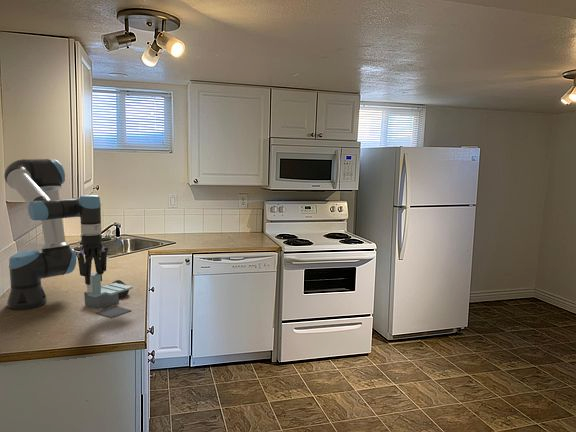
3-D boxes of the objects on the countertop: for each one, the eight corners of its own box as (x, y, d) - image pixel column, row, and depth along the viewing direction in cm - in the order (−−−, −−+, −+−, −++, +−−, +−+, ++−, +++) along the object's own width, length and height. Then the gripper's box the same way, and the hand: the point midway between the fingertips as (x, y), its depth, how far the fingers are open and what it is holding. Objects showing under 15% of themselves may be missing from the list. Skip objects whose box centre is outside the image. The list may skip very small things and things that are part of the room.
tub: (84, 304, 199) (84, 292, 198) (104, 298, 207) (103, 286, 206) (99, 309, 194) (98, 296, 193) (118, 302, 202) (118, 290, 202)
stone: (132, 302, 214) (130, 284, 220) (128, 294, 207) (127, 276, 213) (110, 306, 212) (110, 288, 218) (106, 298, 205) (105, 280, 211)
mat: (95, 313, 189) (95, 312, 189) (115, 306, 197) (115, 305, 197) (111, 318, 184) (111, 317, 184) (131, 311, 192) (131, 310, 192)
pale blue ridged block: (82, 294, 183) (81, 273, 182) (115, 284, 197) (114, 265, 195) (100, 298, 177) (99, 277, 176) (132, 288, 191) (131, 268, 190)
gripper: (79, 238, 169) (82, 297, 172) (114, 231, 183) (116, 287, 186) (67, 235, 173) (70, 294, 176) (102, 230, 187) (105, 284, 190)
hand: (94, 290), depth 181 cm, fingers closed on pale blue ridged block, 3 cm apart
